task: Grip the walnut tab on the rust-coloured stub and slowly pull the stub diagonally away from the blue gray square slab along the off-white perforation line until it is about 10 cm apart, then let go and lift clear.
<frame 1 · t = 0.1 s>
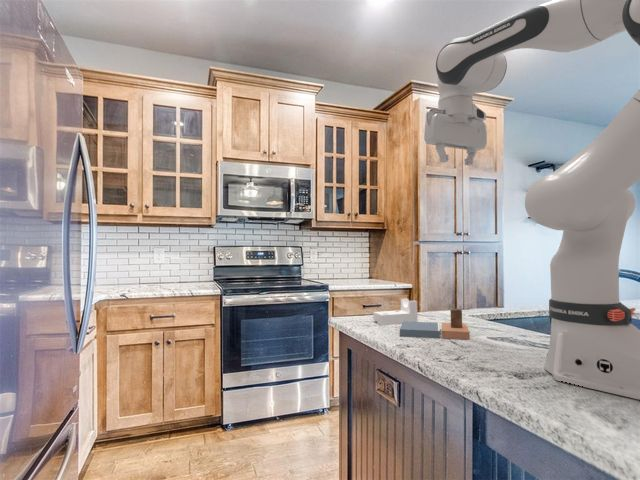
hand: (456, 163, 103), 48 cm above the worktop, tool pointing down, fingers open, 8 cm apart
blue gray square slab: (441, 333, 111), on the worktop
stub: (454, 321, 110), point 4 cm above the worktop, slide at 0.0 cm
bracket: (395, 323, 129), on the worktop
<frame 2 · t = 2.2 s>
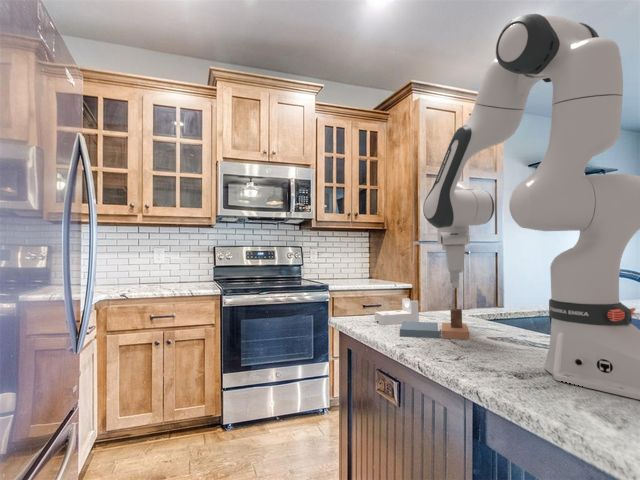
hand: (454, 285, 110), 14 cm above the worktop, tool pointing down, fingers open, 8 cm apart
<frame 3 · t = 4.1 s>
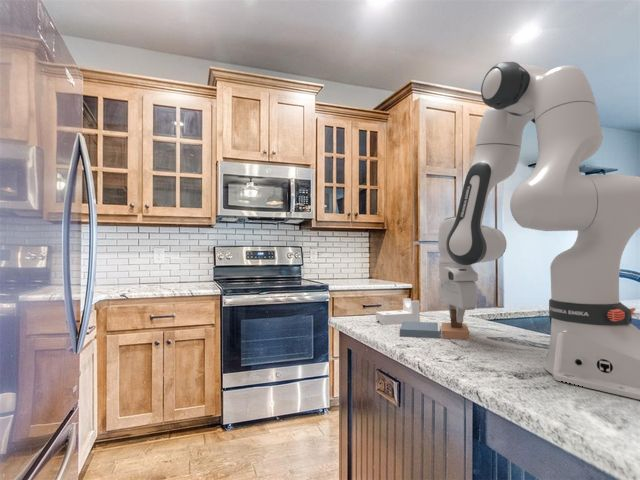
hand: (456, 320, 110), 4 cm above the worktop, tool pointing down, fingers closed on stub, 3 cm apart
stub: (454, 321, 110), point 4 cm above the worktop, slide at 0.0 cm, touching gripper
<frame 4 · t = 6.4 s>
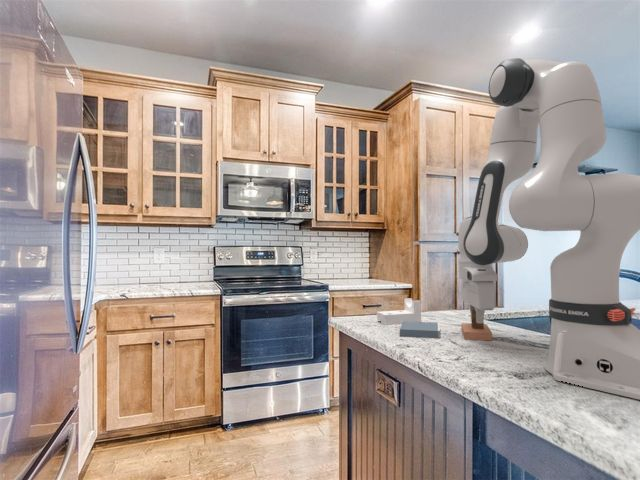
hand: (476, 321, 108), 4 cm above the worktop, tool pointing down, fingers open, 3 cm apart
stub: (475, 322, 108), point 4 cm above the worktop, slide at 5.7 cm, touching gripper
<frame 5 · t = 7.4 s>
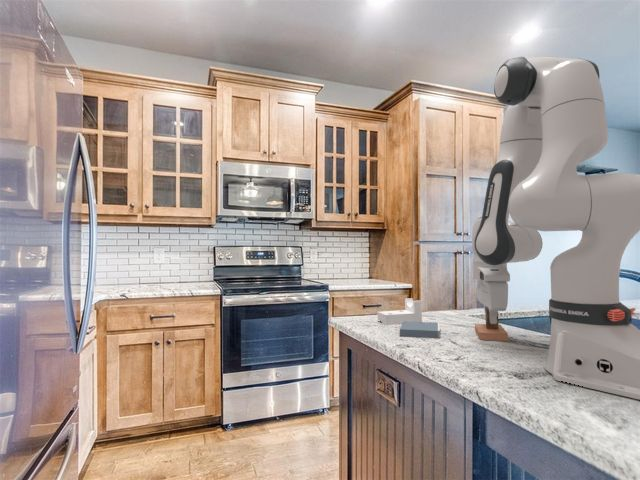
hand: (491, 322, 107), 4 cm above the worktop, tool pointing down, fingers open, 3 cm apart
stub: (490, 322, 107), point 4 cm above the worktop, slide at 9.5 cm, touching gripper
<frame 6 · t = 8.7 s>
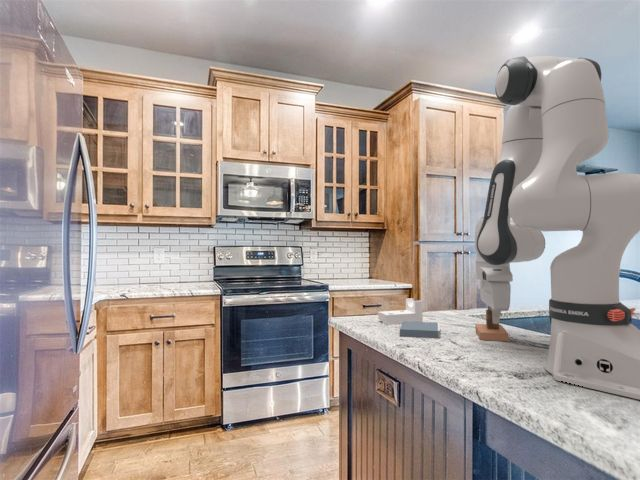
hand: (494, 322, 107), 4 cm above the worktop, tool pointing down, fingers closed on stub, 3 cm apart
stub: (490, 323, 107), point 4 cm above the worktop, slide at 9.6 cm, touching gripper
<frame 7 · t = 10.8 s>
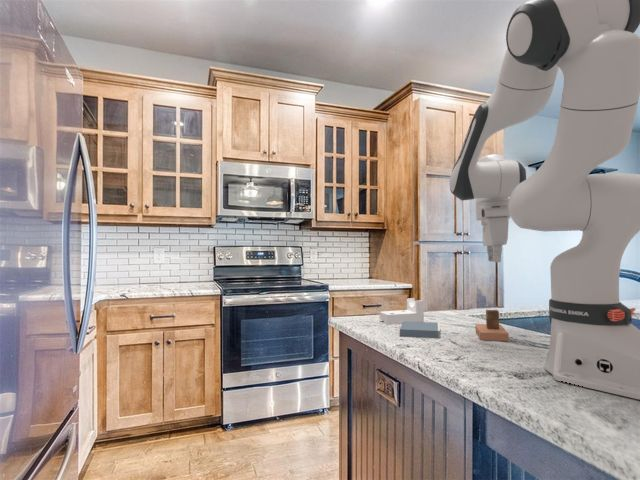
hand: (494, 261, 107), 21 cm above the worktop, tool pointing down, fingers open, 8 cm apart
stub: (490, 323, 107), point 4 cm above the worktop, slide at 9.6 cm
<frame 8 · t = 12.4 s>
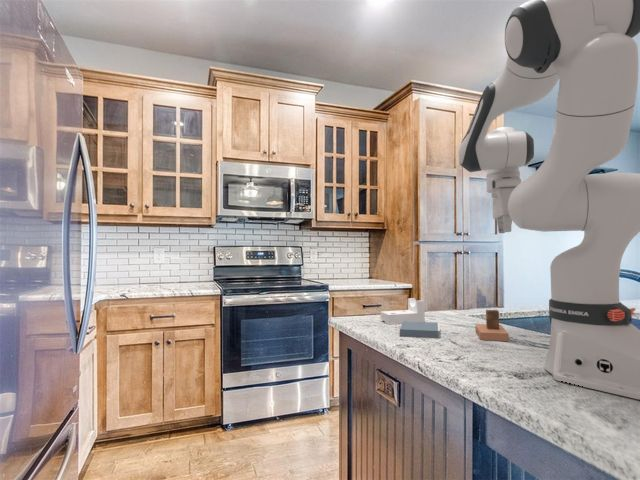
hand: (504, 232, 110), 29 cm above the worktop, tool pointing down, fingers open, 8 cm apart
at the end: stub slide at 9.6 cm; the gripper is holding nothing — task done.
